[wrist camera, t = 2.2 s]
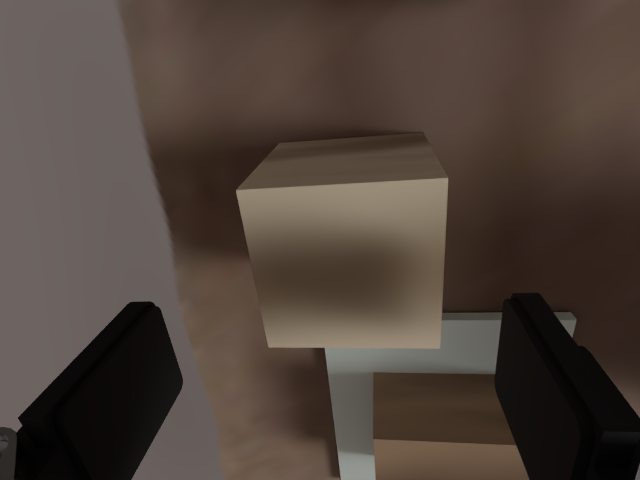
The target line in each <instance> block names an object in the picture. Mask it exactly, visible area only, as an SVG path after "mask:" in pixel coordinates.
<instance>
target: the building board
mask: <svg viewBox="0 0 640 480" xmlns="http://www.w3.org/2000/svg"><path fill="white" fill-rule="evenodd" d="M554 314H555V315H556V317H557V318H558V319H559V321H560V322H561V323H562V325H563V326H564V327H565V329H566V330H567V332H568V333H569V334H570V336H571V337H573V333H574V329H575V325H576V321H577V320H576V318H575V317H574V316H573V314H572V313H571V312H554ZM501 319H502V312H491V313H442V321H441V342H440V349H423V348H325V355H326V363H327V371H328V379H329V387H330V395H331V403H332V411H333V419H334V427H335V435H336V444H337V452H338V460H339V468H340V476H341V480H376V477H375V460H374V443H373V372H384V373H443V374H495V370H496V361H497V353H498V344H499V336H500V327H501Z"/></svg>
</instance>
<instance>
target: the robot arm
mask: <svg viewBox="0 0 640 480" xmlns="http://www.w3.org/2000/svg"><path fill="white" fill-rule="evenodd" d="M182 384H183V379H182V374H181V371H180V368H179V365H178V362H177V359H176V356H175V353H174V349H173V346H172V343H171V340H170V337H169V334H168V331H167V328H166V325H165V322H164V319H163V315H162V312H161V310H160V308H159V307H157V306H155V304H154V303H153V302H130V303H129V304H127V305H126V307H124V309H123V310H122V311H121V312H120V313H119V314H118V315H117V316H116V317H115V318H114V319H113V320H112V321H111V322H110V323H109V324H108V325H107V326H106V327H105V328H104V330H102V331H101V332H100V333H99V334H98V336H97V337H95V339H94V340H93V341H92V342H91V343H90V344H89V345H88V346H87V347H86V348H85V349H84V350H83V351H82V352H81V353H80V354H79V355H78V356H77V357H76V358H75V359H74V360H73V361H72V362H71V363H70V365H68V367H67V368H66V369H65V370H64V371H63V372H62V373H61V374H60V375H59V376H58V377H57V378H56V379H55V380H54V381H53V382H52V383H51V384H50V385H49V386H48V387H47V388H46V389H45V390H44V391H43V392H42V394H40V396H39V397H38V398H37V399H36V400H35V401H34V402H33V403H32V404H31V405H30V406H29V407H28V408H27V409H26V410H25V411H24V412H23V413H22V414H21V415H20V416H19V417H18V419H19V420H20V422H21V424H22V427H21V428H20V429H19V430H18V432H17V433H16V432H15V431H14V430H12V429H11V428H6V427H0V480H131V479H132V477H133V475H134V474H135V472H136V470H137V468H138V466H139V465H140V463H141V461H142V459H143V458H144V456H145V454H146V452H147V450H148V449H149V447H150V445H151V443H152V441H153V439H154V438H155V436H156V434H157V432H158V430H159V429H160V427H161V425H162V423H163V422H164V420H165V418H166V416H167V414H168V413H169V411H170V409H171V407H172V405H173V404H174V402H175V400H176V398H177V396H178V395H179V393H180V391H181V389H182ZM494 384H495V390H496V394H497V397H498V399H499V402H500V404H501V407H502V410H503V412H504V415H505V417H506V420H507V423H508V425H509V428H510V430H511V433H512V436H513V438H514V441H515V443H516V446H517V448H518V451H519V454H520V456H521V459H522V461H523V464H524V467H525V469H526V472H527V474H528V477H529V480H640V418H639V416H638V415H637V414H636V412H635V411H634V410H633V409H632V407H631V406H630V405H629V403H628V402H627V401H626V399H625V398H624V397H623V395H622V394H621V393H620V391H619V390H618V389H617V387H616V386H615V385H614V383H613V382H612V381H611V379H610V378H609V377H608V376H607V374H606V373H605V372H604V370H603V369H602V368H601V366H600V365H599V364H598V362H597V361H596V360H595V358H594V357H593V356H592V354H591V353H590V352H589V351H588V350H587V349H586V348H585V347H582V346H578V345H577V344H576V342H575V341H574V340H573V338H572V337H571V336H570V334H569V333H568V332H567V330H566V329H565V327H564V326H563V325H562V323H561V322H560V321H559V319H558V318H557V317H556V315H555V314H554V312H553V311H552V310H551V308H550V307H549V306H548V304H547V303H546V302H545V300H544V299H543V297H542V296H541V295H540V294H539V293H514V294H512V296H511V299H505V300H504V303H503V311H502V319H501V327H500V336H499V344H498V353H497V361H496V370H495V378H494Z"/></svg>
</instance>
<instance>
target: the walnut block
mask: <svg viewBox="0 0 640 480" xmlns="http://www.w3.org/2000/svg"><path fill="white" fill-rule="evenodd" d="M494 378H495V374H443V373H384V372H373V443H374V460H375V477H376V480H529V477H528V474H527V472H526V469H525V467H524V464H523V461H522V459H521V456H520V454H519V451H518V448H517V446H516V443H515V441H514V438H513V436H512V433H511V430H510V428H509V425H508V423H507V420H506V417H505V415H504V412H503V410H502V407H501V404H500V402H499V399H498V397H497V394H496V390H495V384H494Z"/></svg>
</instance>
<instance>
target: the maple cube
mask: <svg viewBox="0 0 640 480" xmlns="http://www.w3.org/2000/svg"><path fill="white" fill-rule="evenodd" d="M236 194H237V198H238V203H239V208H240V213H241V218H242V223H243V227H244V232H245V237H246V242H247V247H248V251H249V256H250V261H251V266H252V271H253V275H254V280H255V285H256V290H257V295H258V299H259V304H260V309H261V314H262V319H263V323H264V328H265V333H266V338H267V343H268V347H288V348H423V349H440V342H441V321H442V300H443V279H444V258H445V237H446V216H447V195H448V176H447V175H446V173H445V171H444V169H443V167H442V165H441V164H440V162H439V160H438V158H437V156H436V155H435V153H434V151H433V149H432V147H431V145H430V144H429V142H428V140H427V138H426V136H425V135H424V133H423V132H419V133H406V134H393V135H380V136H367V137H353V138H340V139H327V140H314V141H301V142H288V143H279V144H278V145H277V146H276V147H275V148H274V149H273V150H272V151H271V152H270V154H269V155H268V156H267V157H266V158H265V159H264V160H263V161H262V162H261V163H260V164H259V166H258V167H257V168H256V169H255V170H254V171H253V172H252V173H251V174H250V175H249V176H248V177H247V179H246V180H245V181H244V182H243V183H242V184H241V185H240V186H239V187H238V188H237V189H236Z"/></svg>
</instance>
